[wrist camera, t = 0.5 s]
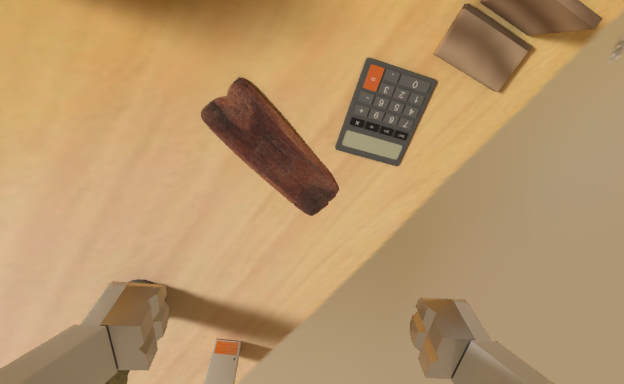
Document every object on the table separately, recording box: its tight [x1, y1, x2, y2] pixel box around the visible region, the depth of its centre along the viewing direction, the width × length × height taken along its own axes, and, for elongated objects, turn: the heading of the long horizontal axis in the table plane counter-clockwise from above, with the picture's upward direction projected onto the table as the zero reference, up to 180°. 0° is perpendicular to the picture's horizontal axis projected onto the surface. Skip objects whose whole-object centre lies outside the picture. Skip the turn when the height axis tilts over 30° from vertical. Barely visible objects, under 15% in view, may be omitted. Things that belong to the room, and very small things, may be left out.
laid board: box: [434, 4, 532, 92], centre depth 48 cm, size 7×12×1 cm, turn 63°
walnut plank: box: [480, 0, 602, 35], centre depth 41 cm, size 12×9×1 cm
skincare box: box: [204, 339, 241, 384], centre depth 71 cm, size 6×4×12 cm
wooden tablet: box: [201, 78, 339, 216], centre depth 55 cm, size 26×2×10 cm
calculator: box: [335, 58, 436, 166], centre depth 53 cm, size 12×1×15 cm
